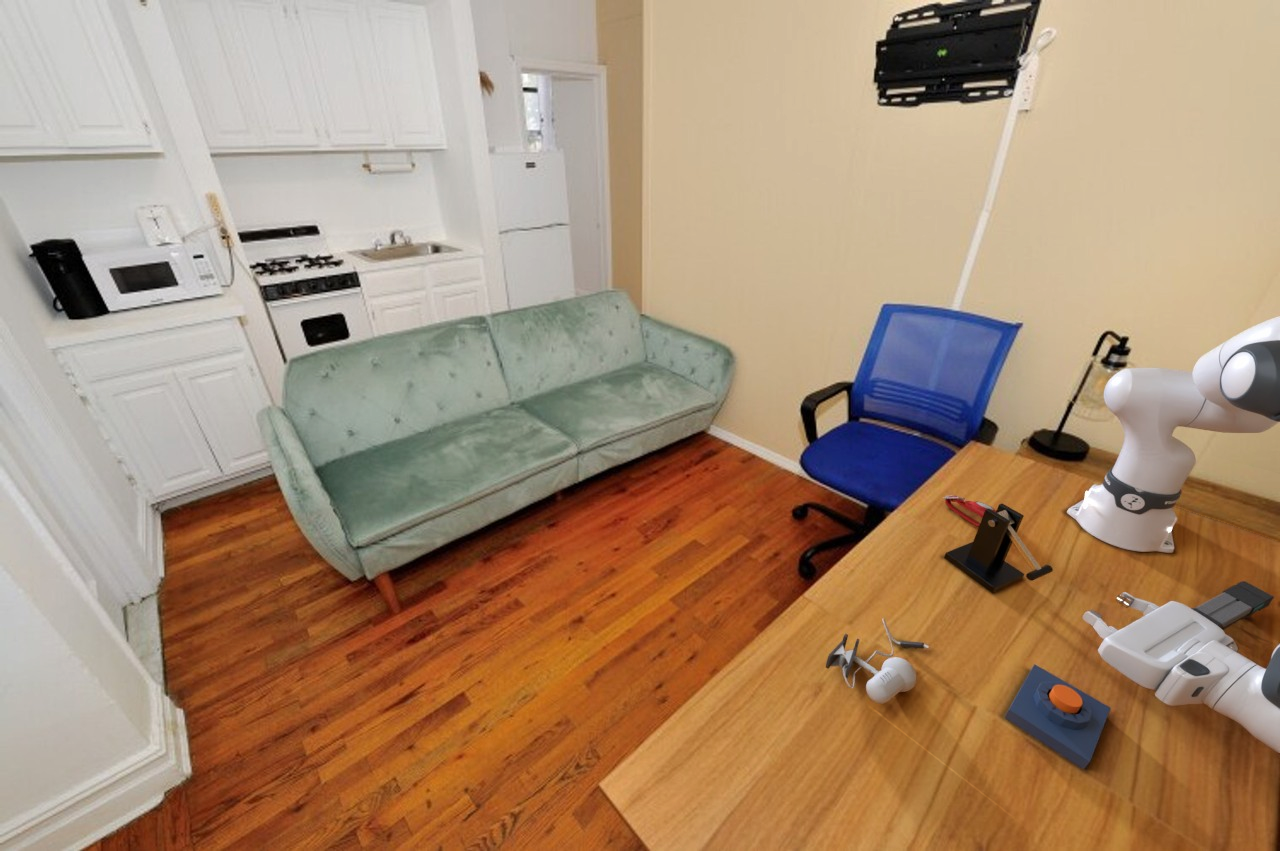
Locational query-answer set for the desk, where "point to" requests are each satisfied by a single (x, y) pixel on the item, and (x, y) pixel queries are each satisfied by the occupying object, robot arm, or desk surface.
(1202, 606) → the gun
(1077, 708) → the button
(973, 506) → the tracker holder
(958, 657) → the desk surface
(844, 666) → the clip-on lamp
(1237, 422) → the robot arm
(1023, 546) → the switch lever
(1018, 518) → the switch bracket
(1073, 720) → the control block
